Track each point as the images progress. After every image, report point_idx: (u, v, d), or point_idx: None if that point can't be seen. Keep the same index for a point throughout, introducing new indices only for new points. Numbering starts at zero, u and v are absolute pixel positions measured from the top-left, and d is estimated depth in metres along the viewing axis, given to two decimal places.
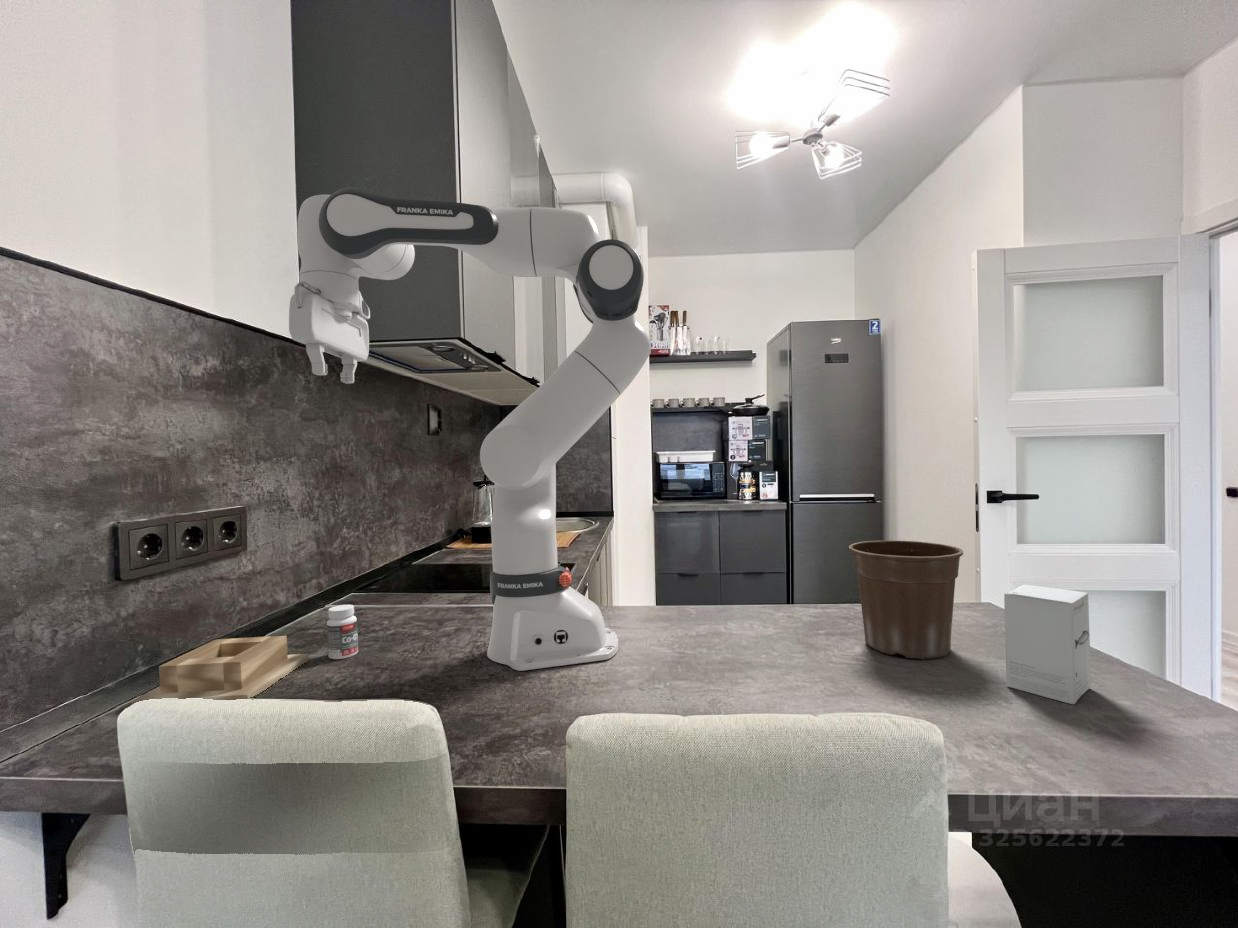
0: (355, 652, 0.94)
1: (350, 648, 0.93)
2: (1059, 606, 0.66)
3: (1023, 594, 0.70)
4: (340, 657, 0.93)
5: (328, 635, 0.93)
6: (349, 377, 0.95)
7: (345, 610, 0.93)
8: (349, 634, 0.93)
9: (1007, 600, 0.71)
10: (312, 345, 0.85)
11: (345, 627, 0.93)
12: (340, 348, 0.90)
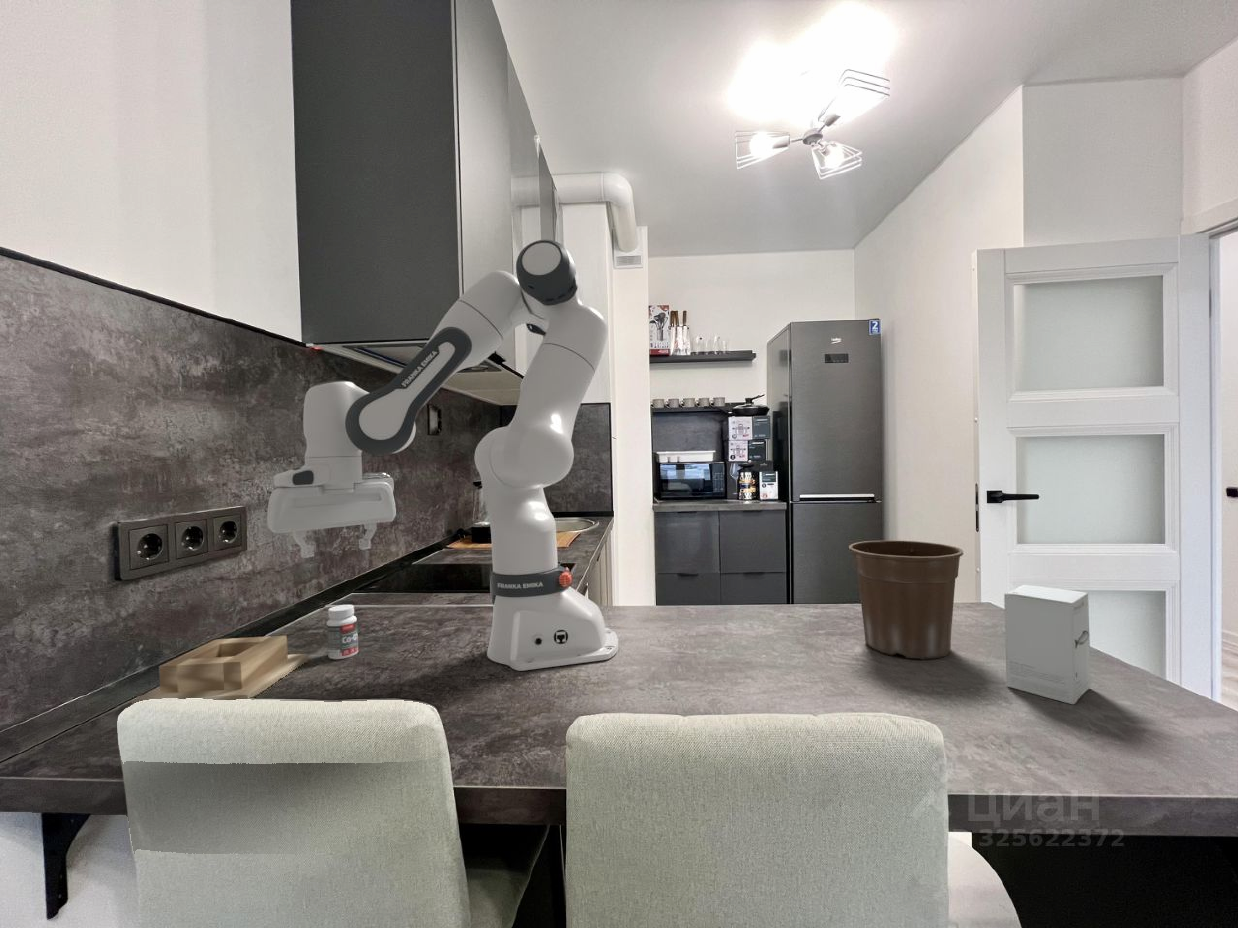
0: (355, 652, 0.94)
1: (350, 648, 0.93)
2: (1059, 606, 0.66)
3: (1023, 594, 0.70)
4: (340, 657, 0.93)
5: (328, 635, 0.93)
6: None
7: (345, 610, 0.93)
8: (349, 634, 0.93)
9: (1007, 600, 0.71)
10: None
11: (345, 627, 0.93)
12: None
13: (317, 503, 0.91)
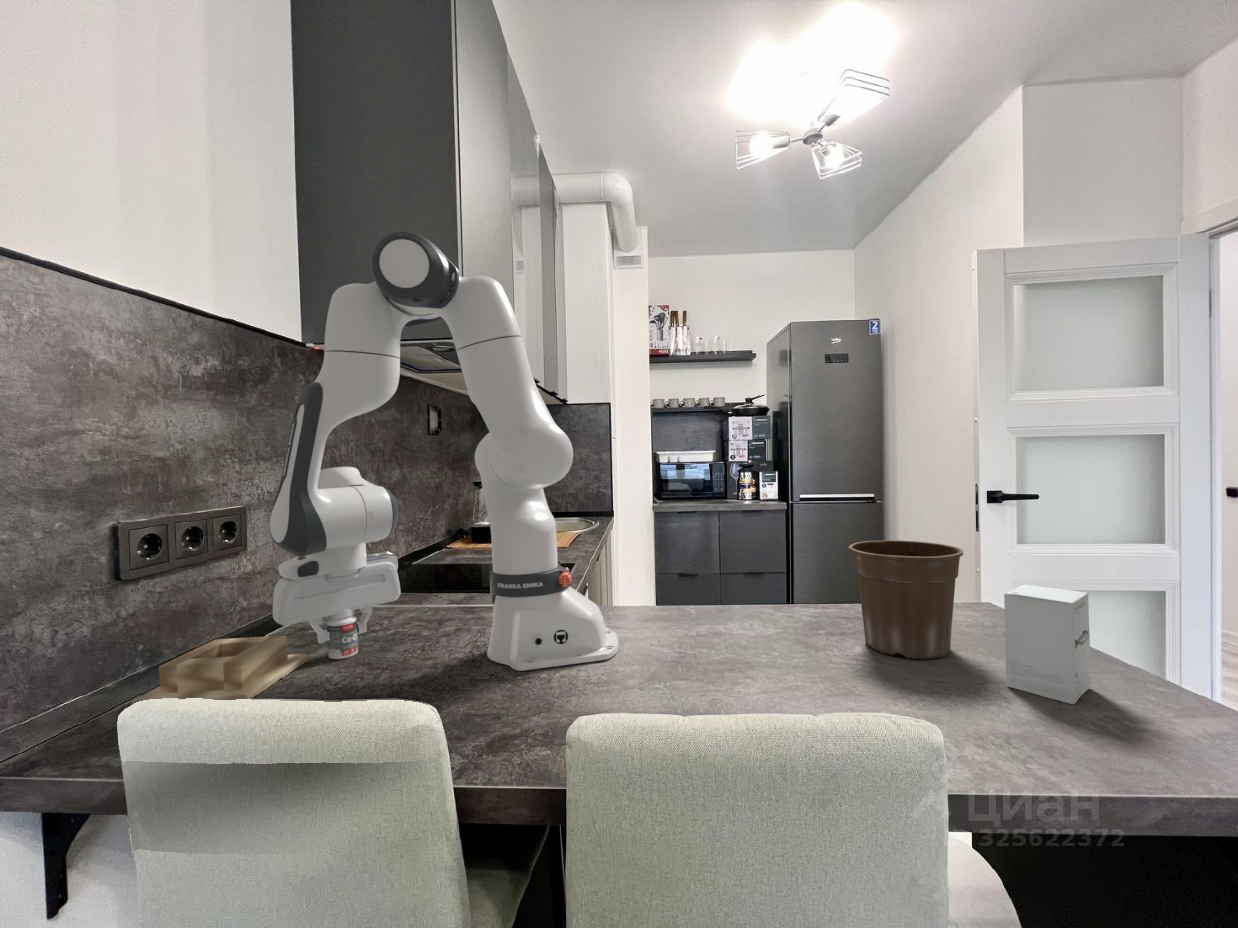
0: (355, 652, 0.94)
1: (350, 648, 0.93)
2: (1059, 606, 0.66)
3: (1023, 594, 0.70)
4: (340, 657, 0.93)
5: None
6: None
7: (345, 610, 0.93)
8: (349, 634, 0.93)
9: (1007, 600, 0.71)
10: None
11: (345, 627, 0.93)
12: None
13: (322, 591, 0.91)
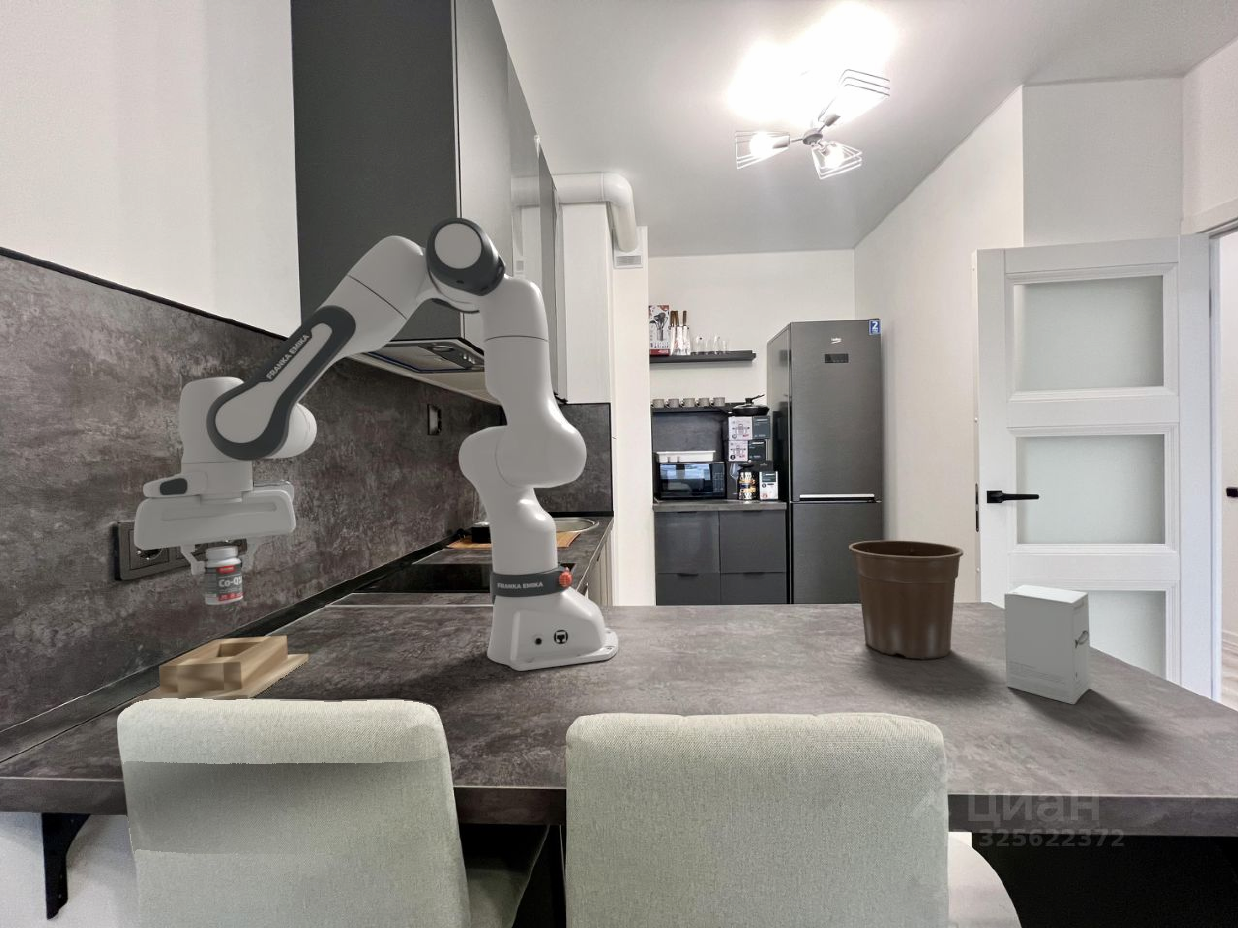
0: (236, 598, 0.84)
1: (229, 593, 0.83)
2: (1059, 606, 0.66)
3: (1023, 594, 0.70)
4: (217, 602, 0.82)
5: (204, 578, 0.82)
6: None
7: (224, 550, 0.83)
8: (228, 577, 0.83)
9: (1007, 600, 0.71)
10: None
11: (222, 569, 0.82)
12: None
13: (194, 515, 0.80)
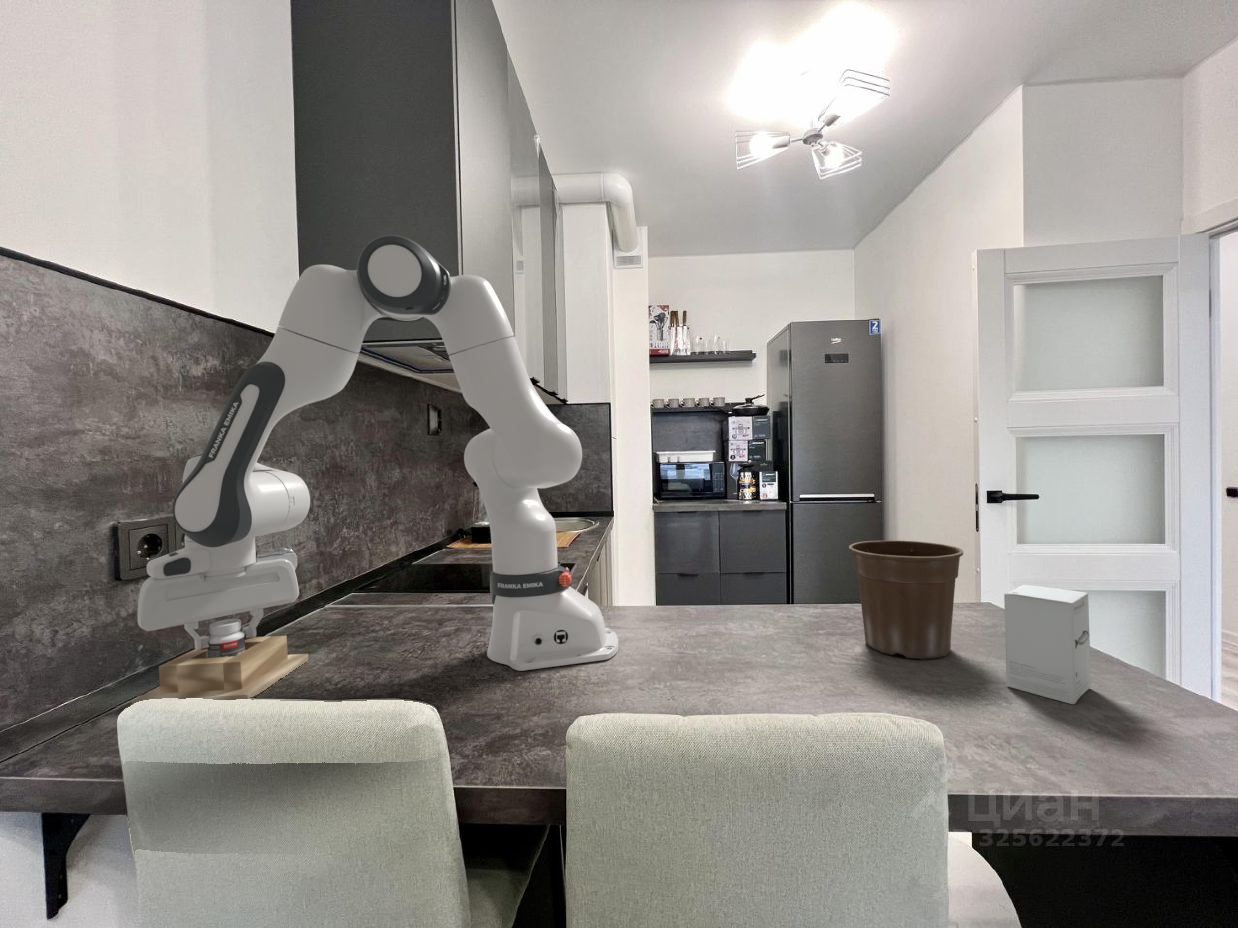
0: None
1: None
2: (1059, 606, 0.66)
3: (1023, 594, 0.70)
4: None
5: (208, 654, 0.82)
6: None
7: (227, 626, 0.83)
8: (232, 653, 0.83)
9: (1007, 600, 0.71)
10: None
11: (226, 645, 0.82)
12: None
13: (197, 592, 0.81)
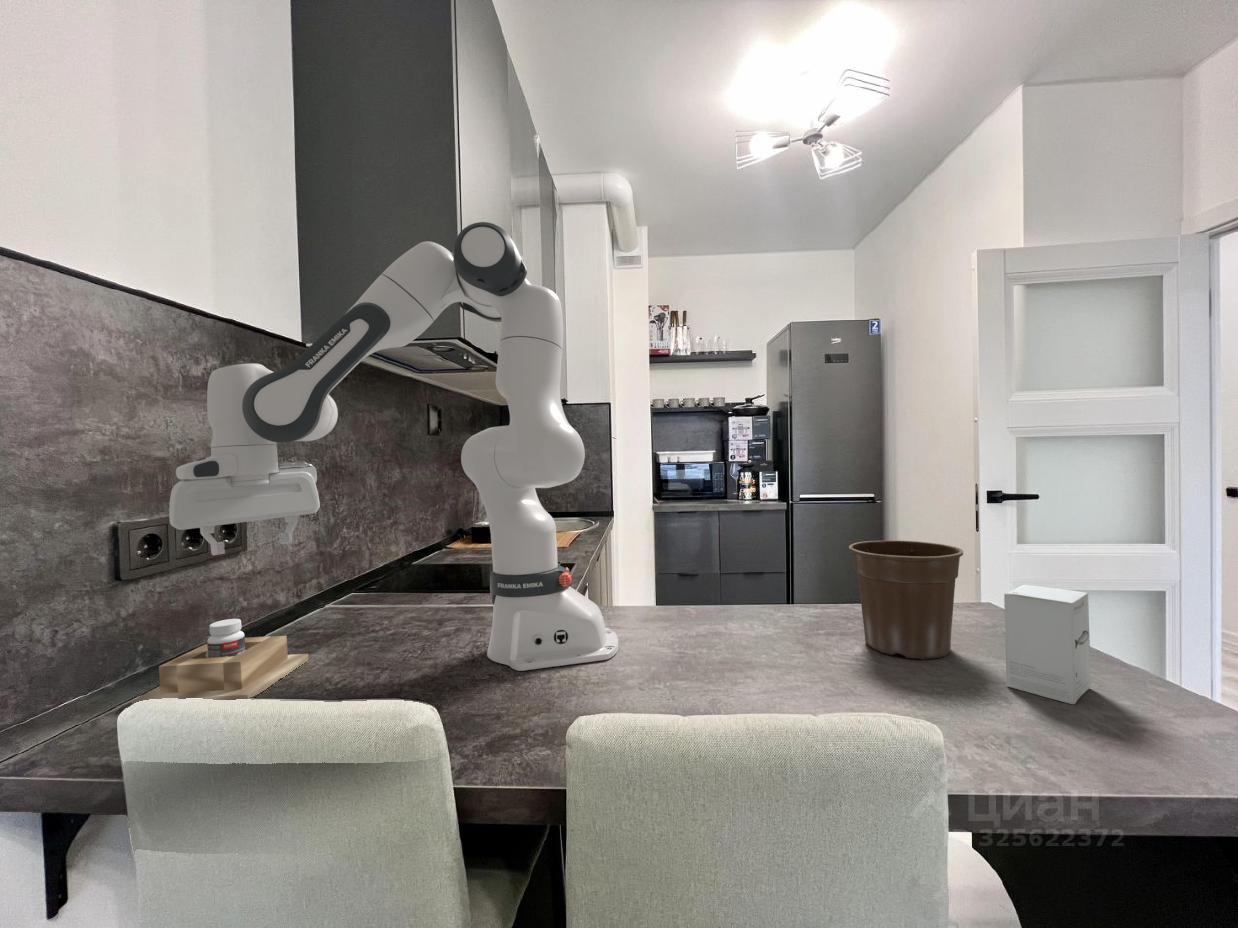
0: None
1: None
2: (1059, 606, 0.66)
3: (1023, 594, 0.70)
4: None
5: (208, 654, 0.82)
6: None
7: (227, 626, 0.83)
8: (232, 653, 0.83)
9: (1007, 600, 0.71)
10: None
11: (226, 645, 0.82)
12: None
13: (225, 496, 0.84)
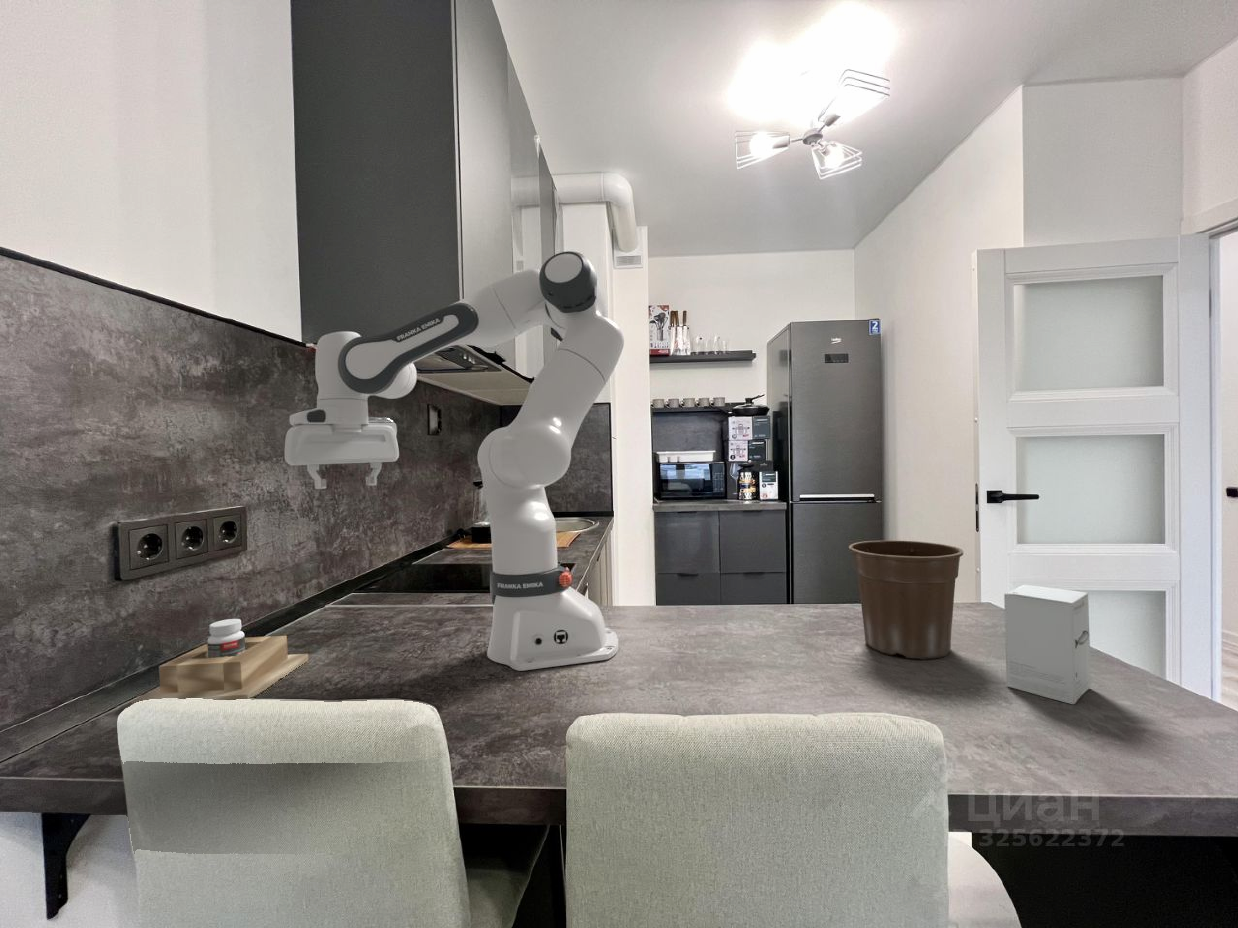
0: None
1: None
2: (1059, 606, 0.66)
3: (1023, 594, 0.70)
4: None
5: (208, 654, 0.82)
6: None
7: (227, 626, 0.83)
8: (232, 653, 0.83)
9: (1007, 600, 0.71)
10: None
11: (226, 645, 0.82)
12: None
13: (328, 440, 1.02)
